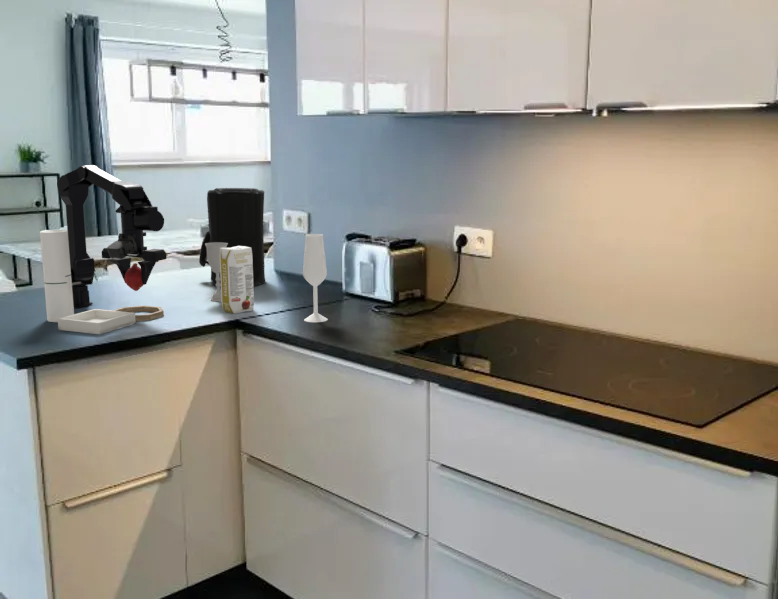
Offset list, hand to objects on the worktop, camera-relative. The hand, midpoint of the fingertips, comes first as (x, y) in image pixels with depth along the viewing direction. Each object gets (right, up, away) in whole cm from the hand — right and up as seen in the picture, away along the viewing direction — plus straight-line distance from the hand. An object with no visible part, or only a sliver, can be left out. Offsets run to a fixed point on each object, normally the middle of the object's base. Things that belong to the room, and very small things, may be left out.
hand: (135, 283), depth 228 cm
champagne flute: (+52, -10, -3) cm, 53 cm away
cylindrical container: (-20, -10, -2) cm, 23 cm away
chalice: (+18, -5, +25) cm, 32 cm away
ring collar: (0, -9, +2) cm, 9 cm away
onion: (0, -2, 0) cm, 2 cm away
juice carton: (+28, -8, +9) cm, 30 cm away
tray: (-7, -12, -11) cm, 18 cm away
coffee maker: (+16, +1, +56) cm, 58 cm away
